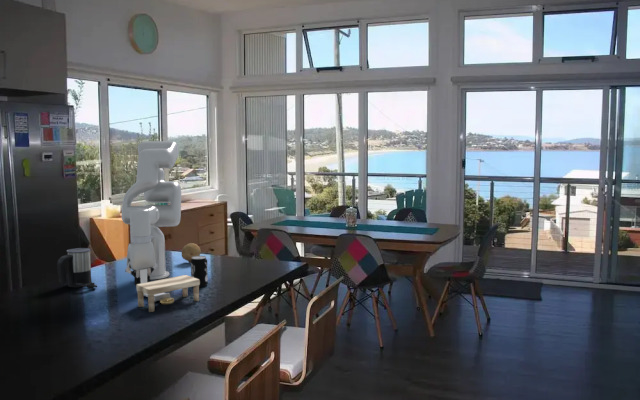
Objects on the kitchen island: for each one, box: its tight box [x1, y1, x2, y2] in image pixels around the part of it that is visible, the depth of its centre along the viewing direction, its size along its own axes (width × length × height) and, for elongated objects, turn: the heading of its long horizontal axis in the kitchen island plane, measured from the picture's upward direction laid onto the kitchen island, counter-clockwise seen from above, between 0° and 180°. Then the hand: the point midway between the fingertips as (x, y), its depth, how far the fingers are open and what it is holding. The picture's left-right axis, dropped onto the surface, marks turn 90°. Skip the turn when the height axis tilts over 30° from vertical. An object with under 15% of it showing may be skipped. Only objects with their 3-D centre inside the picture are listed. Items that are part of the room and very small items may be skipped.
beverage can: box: [190, 255, 209, 289], centre depth 221 cm, size 7×7×12 cm
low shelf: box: [135, 274, 200, 313], centre depth 197 cm, size 10×20×8 cm, turn 135°
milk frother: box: [56, 247, 98, 290], centre depth 219 cm, size 14×16×15 cm
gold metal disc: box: [159, 297, 175, 305], centre depth 199 cm, size 5×5×1 cm
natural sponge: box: [181, 242, 202, 264], centre depth 261 cm, size 9×9×10 cm
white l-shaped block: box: [136, 269, 171, 303], centre depth 207 cm, size 18×6×9 cm, turn 44°
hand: (142, 285), depth 212 cm, fingers closed on white l-shaped block, 3 cm apart
